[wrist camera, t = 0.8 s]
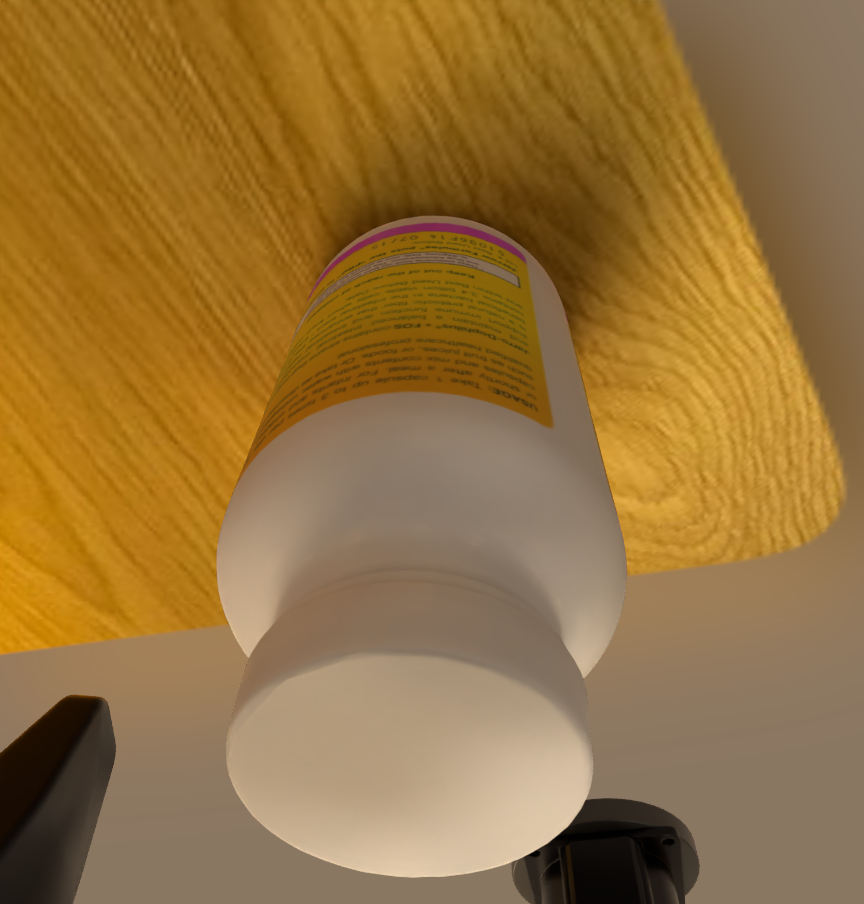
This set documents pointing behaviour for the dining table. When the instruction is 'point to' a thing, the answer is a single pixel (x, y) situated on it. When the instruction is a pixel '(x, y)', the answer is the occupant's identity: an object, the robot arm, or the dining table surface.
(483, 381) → the supplement bottle
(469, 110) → the dining table surface
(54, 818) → the robot arm
